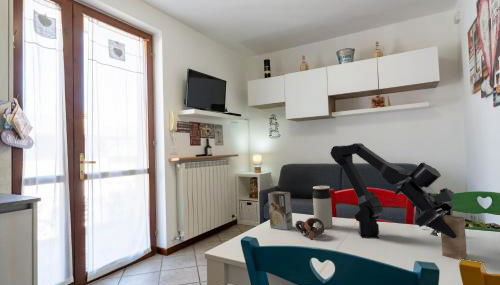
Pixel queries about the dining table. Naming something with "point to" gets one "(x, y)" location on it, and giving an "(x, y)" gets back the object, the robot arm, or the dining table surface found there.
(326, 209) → the travel mug
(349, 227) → the dining table surface
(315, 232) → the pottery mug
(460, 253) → the walnut block
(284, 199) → the coffee box
